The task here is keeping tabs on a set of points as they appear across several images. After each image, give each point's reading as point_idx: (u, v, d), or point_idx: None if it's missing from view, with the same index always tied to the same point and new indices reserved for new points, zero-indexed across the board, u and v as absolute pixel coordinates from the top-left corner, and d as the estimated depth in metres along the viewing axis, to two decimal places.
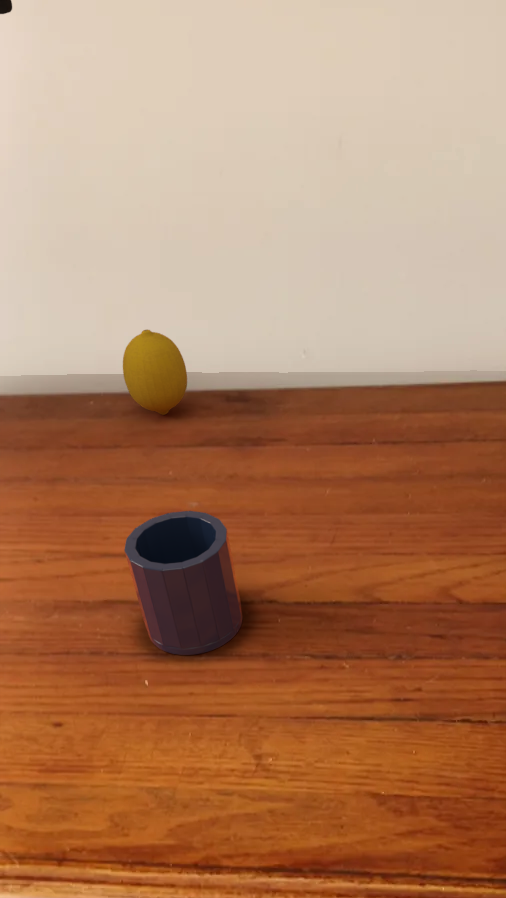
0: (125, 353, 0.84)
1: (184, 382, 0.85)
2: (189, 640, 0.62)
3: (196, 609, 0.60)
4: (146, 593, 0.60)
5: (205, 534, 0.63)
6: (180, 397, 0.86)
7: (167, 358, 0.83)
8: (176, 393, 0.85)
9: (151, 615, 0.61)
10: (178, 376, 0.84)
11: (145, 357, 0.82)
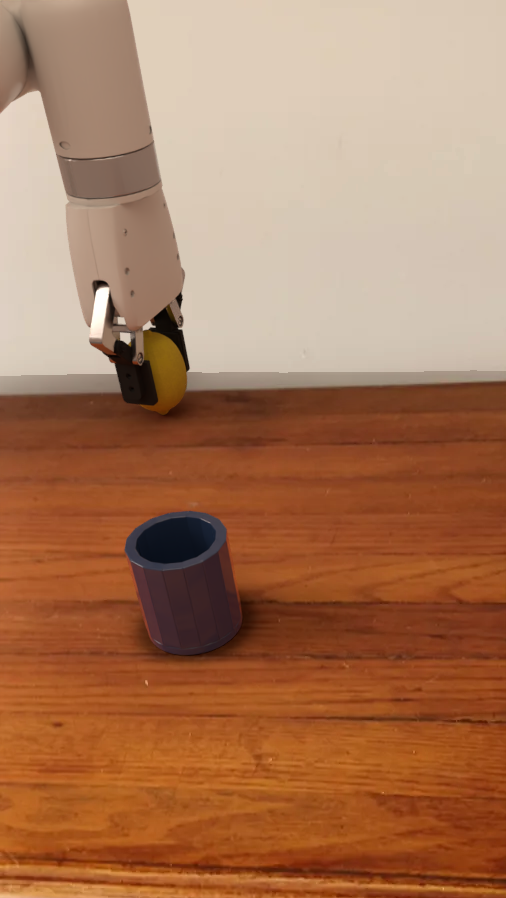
0: None
1: (184, 382, 0.85)
2: (189, 640, 0.62)
3: (196, 609, 0.60)
4: (146, 593, 0.60)
5: (205, 534, 0.63)
6: (180, 397, 0.86)
7: (167, 358, 0.83)
8: (176, 393, 0.85)
9: (151, 615, 0.61)
10: (178, 376, 0.84)
11: (145, 358, 0.82)
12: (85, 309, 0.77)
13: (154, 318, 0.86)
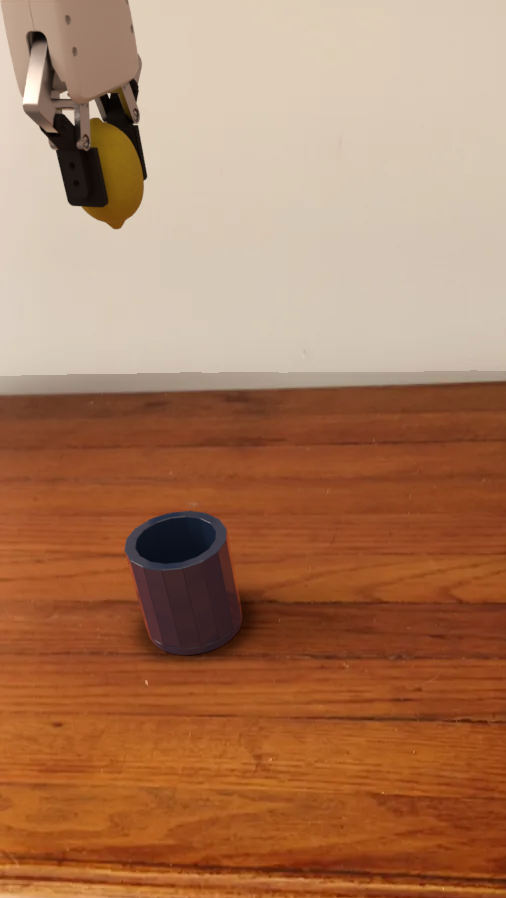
0: None
1: (140, 186, 0.73)
2: (189, 640, 0.62)
3: (196, 609, 0.60)
4: (146, 593, 0.60)
5: (205, 534, 0.63)
6: (135, 204, 0.74)
7: (119, 150, 0.71)
8: (131, 197, 0.73)
9: (151, 615, 0.61)
10: (132, 175, 0.72)
11: None
12: (19, 73, 0.65)
13: (105, 111, 0.74)
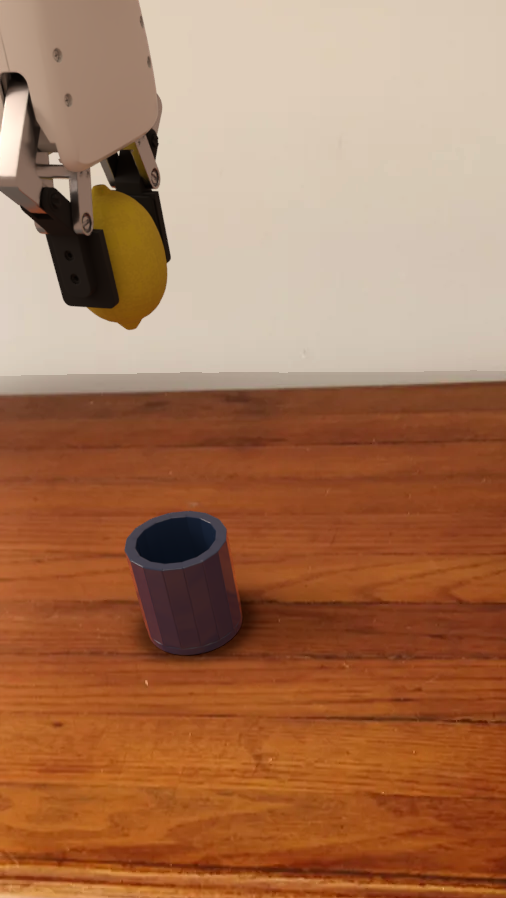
0: None
1: (162, 274, 0.54)
2: (189, 640, 0.62)
3: (196, 609, 0.60)
4: (146, 593, 0.60)
5: (205, 534, 0.63)
6: (156, 299, 0.54)
7: (134, 230, 0.51)
8: (150, 291, 0.53)
9: (151, 615, 0.61)
10: (152, 262, 0.52)
11: (98, 228, 0.50)
12: None
13: (113, 173, 0.54)
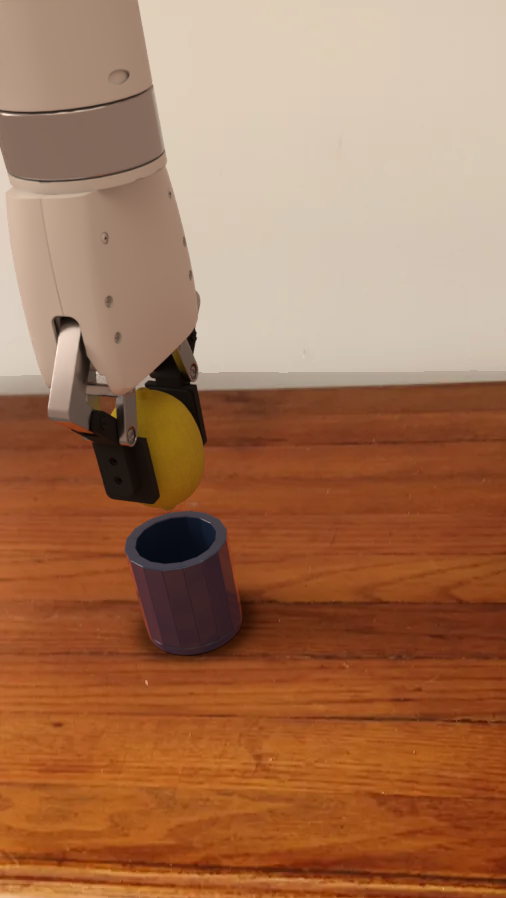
0: None
1: (200, 465, 0.56)
2: (189, 640, 0.62)
3: (196, 609, 0.60)
4: (146, 593, 0.60)
5: (205, 534, 0.63)
6: (194, 487, 0.56)
7: (174, 432, 0.54)
8: (189, 483, 0.56)
9: (151, 615, 0.61)
10: (191, 457, 0.55)
11: (141, 432, 0.53)
12: (42, 361, 0.48)
13: None
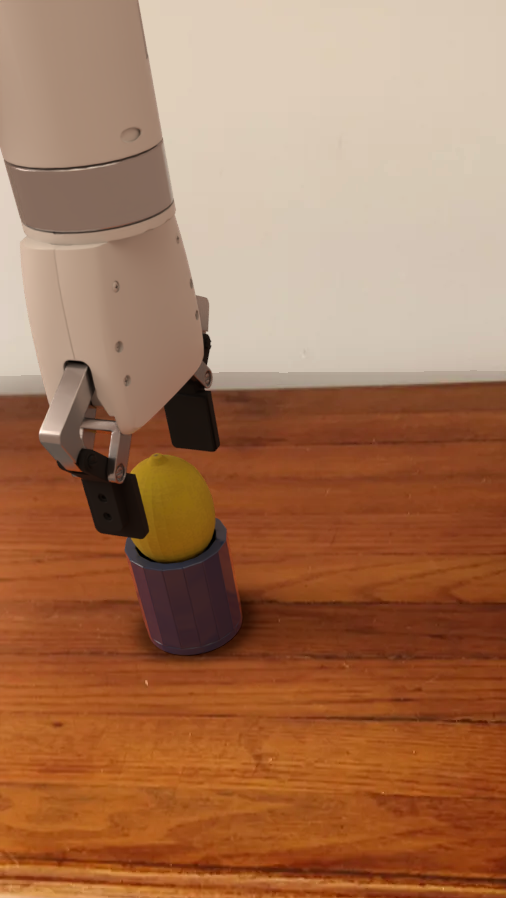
0: None
1: (211, 525, 0.59)
2: (189, 640, 0.62)
3: (196, 609, 0.60)
4: (146, 593, 0.60)
5: None
6: (205, 546, 0.59)
7: (187, 496, 0.56)
8: (200, 542, 0.58)
9: (151, 615, 0.61)
10: (203, 519, 0.58)
11: (156, 497, 0.56)
12: None
13: None
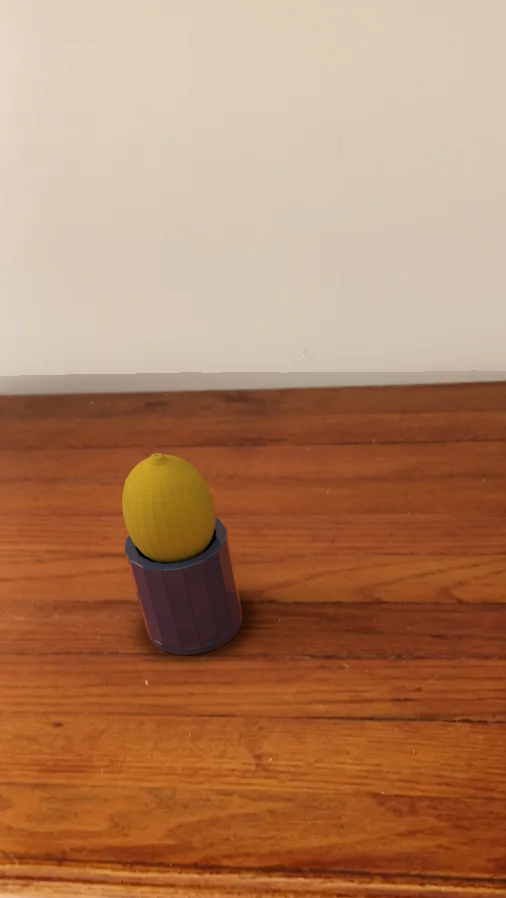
0: (126, 487, 0.57)
1: (211, 525, 0.59)
2: (189, 640, 0.62)
3: (196, 609, 0.60)
4: (146, 593, 0.60)
5: None
6: (205, 546, 0.59)
7: (187, 496, 0.56)
8: (200, 542, 0.58)
9: (151, 615, 0.61)
10: (203, 519, 0.58)
11: (156, 497, 0.56)
12: None
13: None
